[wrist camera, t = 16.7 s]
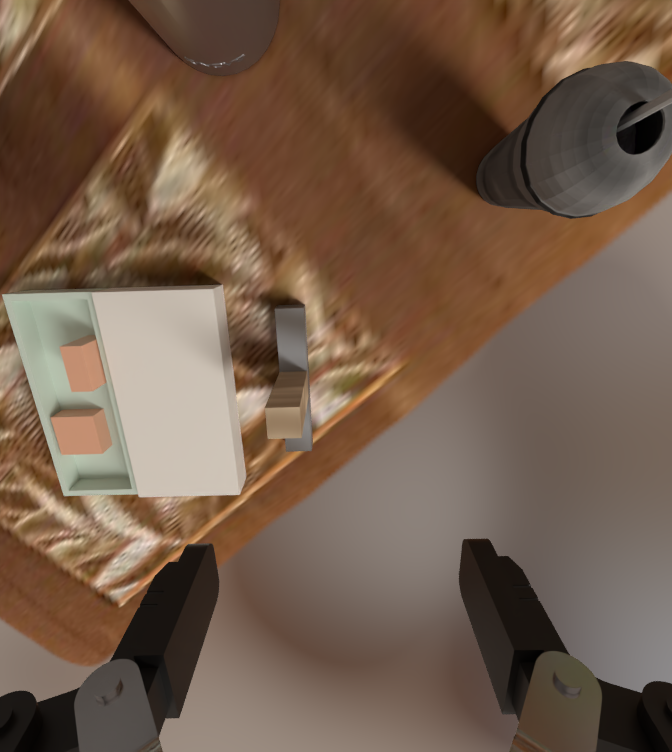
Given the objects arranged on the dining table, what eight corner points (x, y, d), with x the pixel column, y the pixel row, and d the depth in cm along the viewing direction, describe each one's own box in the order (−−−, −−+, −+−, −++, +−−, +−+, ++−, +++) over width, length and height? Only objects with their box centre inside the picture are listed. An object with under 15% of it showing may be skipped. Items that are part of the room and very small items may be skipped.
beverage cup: (452, 221, 33) (602, 204, 15) (466, 122, 31) (667, -53, 12) (538, 226, 34) (796, 214, 15) (558, 127, 31) (899, -39, 12)
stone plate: (111, 287, 35) (91, 292, 32) (222, 284, 35) (212, 289, 32) (152, 479, 42) (138, 497, 39) (246, 477, 42) (239, 494, 39)
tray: (24, 290, 35) (1, 294, 33) (108, 287, 35) (92, 291, 33) (79, 481, 42) (63, 495, 40) (150, 479, 42) (139, 494, 40)
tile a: (107, 334, 36) (88, 335, 36) (81, 346, 32) (59, 346, 32) (117, 375, 38) (98, 376, 38) (92, 391, 34) (71, 391, 34)
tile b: (92, 416, 37) (103, 408, 39) (50, 417, 37) (62, 409, 39) (102, 453, 38) (112, 444, 40) (61, 454, 38) (73, 445, 40)
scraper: (277, 305, 36) (257, 329, 27) (305, 304, 36) (294, 328, 27) (288, 441, 41) (274, 503, 31) (312, 440, 41) (305, 502, 31)
